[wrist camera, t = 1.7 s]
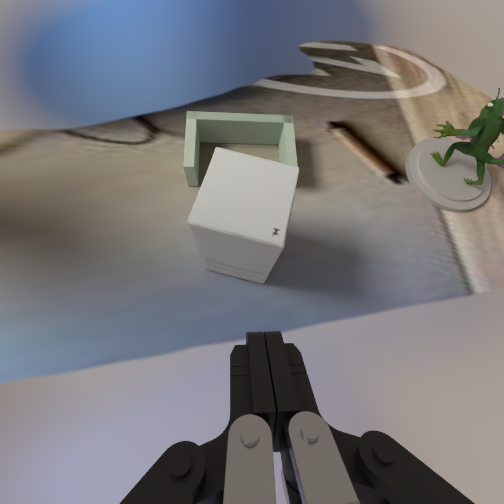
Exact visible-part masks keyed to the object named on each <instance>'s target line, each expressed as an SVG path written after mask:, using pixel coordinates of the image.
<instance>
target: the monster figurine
mask: <svg viewBox="0 0 504 504" xmlns="http://www.w3.org/2000/svg"><path fill="white" fill-rule="evenodd" d="M498 89H499V92H500V88H498ZM499 92H498V95H499ZM497 98H498V96H497ZM497 98H496V100H492V101H490V102H489V103H488V104H487V105H486V106H485V107H484V108H483V109H482V110H481V113H480V115H479V117H478V118H476V119H474V120H473V121H472V123H471V124H470V126H469V128H468V130H464V129H455V128H454V127H453V126H452V125H451V124H450V123H449V122H448V121H446V123H447V125H446V126H445V125H437V126H442V127H444V129H443V130H433V131H436V132H440V133H441V136H440V137H434V138H428V139H425V140H423V141H421V142H419V143H418V144H417V145H416V146H415V147H414V148H413V149H412V150H411V151H410V152H409V154H408V156H407V159H406V166H405V167H406V174H407V177H408V179H409V182H410V184H411V185H412V187H413V188H414V190H415V191H416V192H417V193H418V194H419V195H420V196H421V197H422V198H423V199H424V200H426V201H427V202H428V203H430V204H432V205H433V206H435V207H438V208H440V209H443V210H446V211H451V212H464V211H468V210H471V209H474V208H475V207H477V206H479V205H480V204H482V203H483V202H484V201H485V200H486V199H487V197H488V196H489V193H490V190H491V179H490V174H489V172H488V169H487V168H486V166H485V162H486V163H488V164H496V165H498V166H499V167H502V168H504V154H503V155H502V156H501V157H499V158H497V159H495V158H494V157H492V156H491V155H490V154H489V153H487V152H488V150H489V147H490V145H491V146H492V144H493V143H494V142H495V141H496V139H497V138H498V136H499V135H500V132H501V133H503V134H504V118H502V116H503V115H504V98H500V99H497ZM503 134H502V135H503ZM446 136H456V138H460V139H463V140H465V139H466V138H469V139H471V138H472V139H471V141H470V142H457V141H454V140H451V139H447V138H442V137H446ZM497 140H498V139H497ZM498 142H499V141H498ZM492 147H493V146H492ZM493 149H494V147H493Z"/></svg>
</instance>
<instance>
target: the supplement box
mask: <svg viewBox="0 0 504 504" xmlns="http://www.w3.org/2000/svg"><path fill="white" fill-rule="evenodd" d="M299 169H300V168H299V167H296V166H291V165H287V164H283V163H279V162H275V161H271V160H267V159H263V158H259V157H255V156H251V155H247V154H243V153H239V152H235V151H231V150H228V149H223V148H220V147H216V148H215V151H214V154H213V156H212V159H211V162H210V165H209V167H208V170H207V173H206V175H205V178H204V180H203V183H202V185H201V188H200V190H199V193H198V195H197V198H196V200H195V203H194V205H193V208H192V210H191V213H190V215H189V218H188V220H187V223H188V225H189V227H190V229H191V232H192V234H193V237H194V240H195V242H196V245H197V248H198V251H199V253H200V256H201V258H202V261H203V263H204V266H205V269H207V270H211V271H214V272H218V273H222V274H226V275H230V276H233V277H237V278H241V279H245V280H249V281H253V282H257V283H261V284H264V282H265V281H266V279H267V277H268V275H269V273H270V272H271V270H272V268H273V266H274V264H275V263H276V261H277V259H278V257H279V256H280V254H281V252H282V250H283V249H284V246H285V241H286V236H287V231H288V226H289V221H290V216H291V210H292V205H293V200H294V195H295V189H296V184H297V179H298V174H299Z"/></svg>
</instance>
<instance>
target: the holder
mask: <svg viewBox="0 0 504 504" xmlns="http://www.w3.org/2000/svg"><path fill="white" fill-rule="evenodd" d="M200 142H208V143H238V144H268V145H279V158H280V163H283V164H287V165H291V166H296V167H298V165H297V155H296V145H295V135H294V125H293V116H289V115H265V114H242V113H218V112H195V111H187V119H186V134H185V150H184V165H183V167H184V171H185V174H186V178H187V182H188V186H198V175H199V152H200Z"/></svg>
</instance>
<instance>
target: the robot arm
mask: <svg viewBox="0 0 504 504" xmlns="http://www.w3.org/2000/svg"><path fill="white" fill-rule="evenodd" d="M230 403H231V404H230V411H231V412H230V420H229V423H228V426H227V427H226V429H225V430H224V432H223V433H222V434H221V435H220V436H218V437H217V438H216V439H213V440H212V441H209V442H207V443H205V444H203V445H201V446H198V445H197V444H195V443H193V442H190V441H182V442H178V443H176V444H174V445H172V446H171V447H169V448H168V449H167V450H166V451H165V452H164V453H163V454H162V456H161V457H160V458H159V459H158V460H157V461H156V462H155V464H154V465H153V466H152V467H151V468H150V469H149V470H148V472H147V473H146V474H145V475H144V476H143V477H142V478H141V480H140V481H139V482H138V483H137V484H136V485H135V487H134V488H133V489H132V490H131V491H130V492H129V493H128V495H127V496H126V497H125V498H124V499H123V500H122V502H121V503H120V504H276V493H275V478H274V463H273V452H280V453H281V460H282V466H283V467H282V474H281V475H282V482H283V487H284V492H285V497H286V501H287V504H474V503H473V502H472V501H471V500H469V499H468V498H467V497H465V496H464V495H463V494H462V493H461V492H459V491H458V490H457V489H455V488H454V487H453V486H452V485H451V484H449V483H448V482H447V481H445V480H444V479H443V478H442V477H440V476H439V475H438V474H436V473H435V472H434V471H433V470H432V469H430V468H429V467H428V466H427V465H425V464H424V463H423V462H422V461H420V460H419V459H417V458H416V457H415V456H414V455H413V454H411V453H410V452H409V451H408V450H406V449H405V448H404V447H402V446H401V445H400V444H399V443H397V442H396V441H395V440H394V439H392V438H391V437H390V436H388V435H386V434H385V433H382V432H379V431H368V432H366V433H364V434H363V435H362V436H361V437H357V436H354V435H351V434H347V433H344V432H341V431H338V430H336V429H334V428H333V427H331V426H330V425H329V424H328V423H327V422H326V421H325V420H324V419H323V418H322V416H321V415H320V413H319V410H318V407H317V405H316V401H315V398H314V395H313V391H312V388H311V385H310V382H309V378H308V375H307V372H306V369H305V365H304V362H303V359H302V355H301V353H300V351H299V350H298V349H297V347H296V346H294V344H293V343H287V344H284V342H283V338H282V334H281V332H280V331H273V332H264V334H263V332H247V334H246V345H235V347H234V349H233V351H232V353H231V355H230Z"/></svg>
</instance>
